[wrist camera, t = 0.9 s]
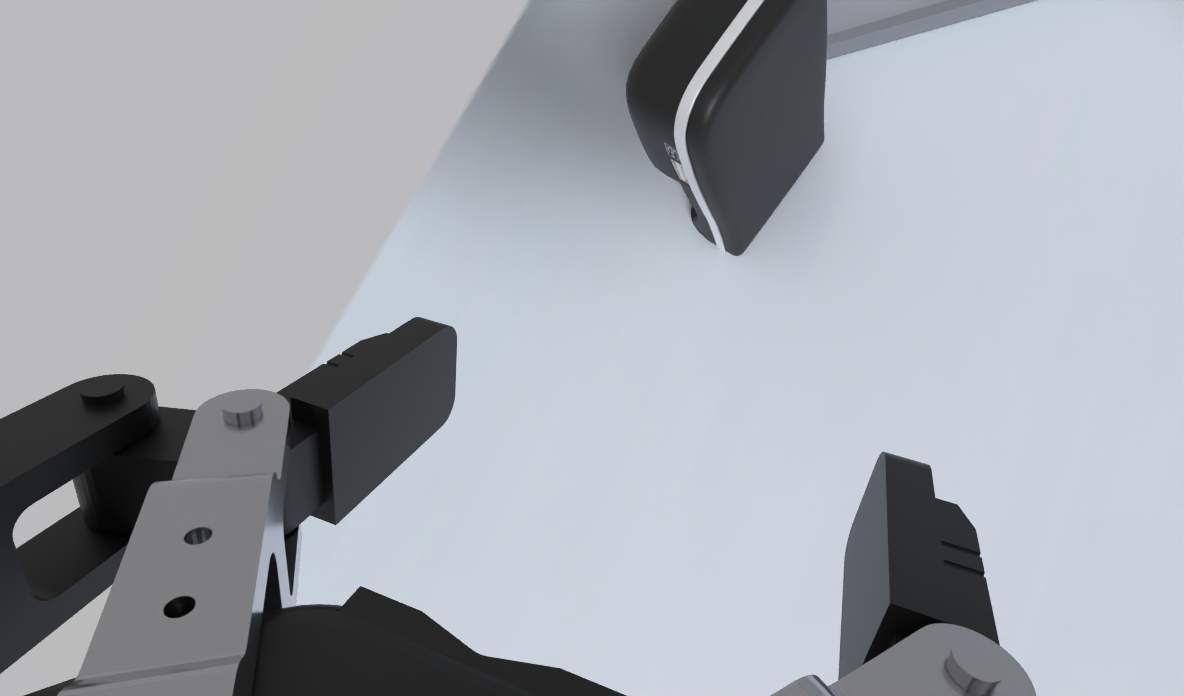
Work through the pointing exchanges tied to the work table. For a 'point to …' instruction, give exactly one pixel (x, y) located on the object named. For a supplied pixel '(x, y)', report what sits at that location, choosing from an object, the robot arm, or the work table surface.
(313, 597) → the work table surface
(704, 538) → the work table surface
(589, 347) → the work table surface
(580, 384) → the work table surface
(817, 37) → the battery charger
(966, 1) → the tray
